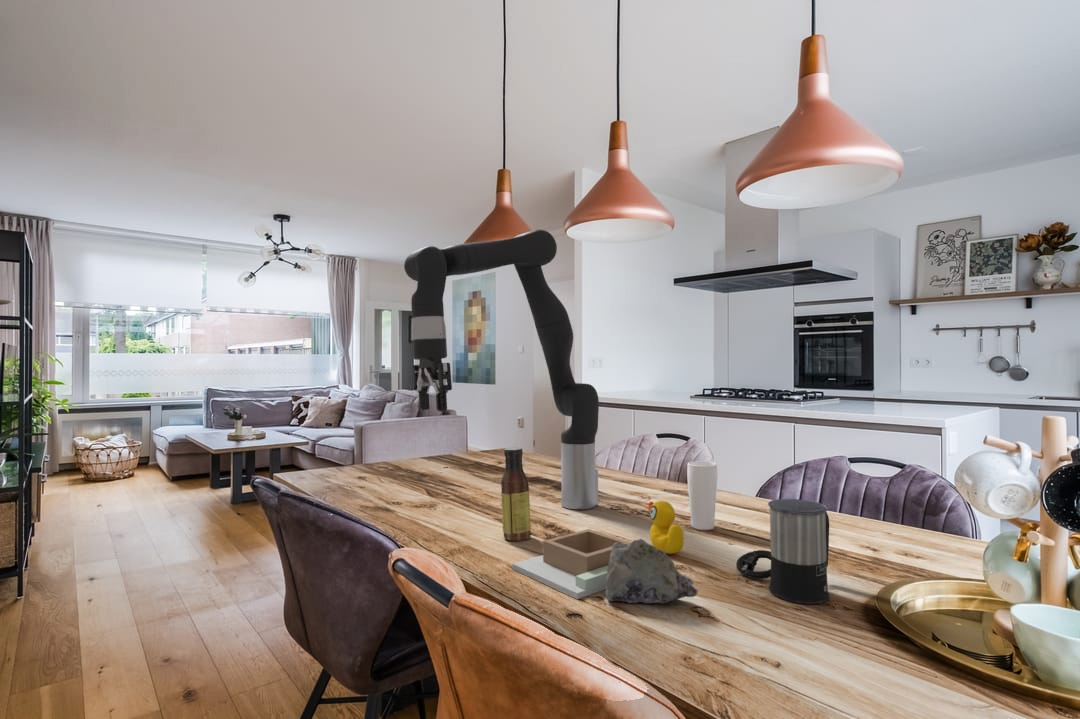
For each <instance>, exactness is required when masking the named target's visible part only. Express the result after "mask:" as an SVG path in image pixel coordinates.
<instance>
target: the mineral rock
mask: <svg viewBox="0 0 1080 719" xmlns="http://www.w3.org/2000/svg"><path fill="white" fill-rule="evenodd" d="M630 542H631V541H630ZM693 584H694V581H693V579H691V577H688V576H687V575H684V574H682V573H681V572H679V571H678V570H677V568H676V566H675V563H674V562H673V560H672V559H671V558H670V556H669V555H667V554H666V553H664V552H663V551H661V550H658V549H657V548H655V547H654V546H653V545H652V544H650V543H648V542H647V541H645V540H644V539H642V538H640V539H637V540H636V539H634V540H633V541H632V542H631V543H630V544H625V543H623V544H622V543H614V544H613V547H612V552H611V555H610V558H609V563H608V569H607V579H606V589H605V598H606V600H608V601H610V602H614V601H615V602H626V603H629V604H634V603H639V602H641V603H642V604H643V603H644V604H652V603H653V604H667V603H669V602H672V601H678V600H680V599H683V598H686V597H687V598H694V597H696V596H697V595H698V593H699V590H698V589H697V588H695V587H694V586H693Z"/></svg>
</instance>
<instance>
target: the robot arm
mask: <svg viewBox="0 0 1080 719" xmlns="http://www.w3.org/2000/svg"><path fill="white" fill-rule="evenodd" d="M557 250H558V247H557V242H556V240H555V237H554V236H553V235H552V234H551V233H550V232H548V231H546V230H545V229H532V230H530V231H527V232H524V233H520V234H518V235H516V236H515V237H510V238H505V239H498V240H487V241H486V240H485V241H473V242H466V243H458V244H454V245H450V246H447V247H443V248H438V247H436V246H433V245H427V246H424V247H422V248H419V249H417V250H414V251H412V252H411V253H409V254H408V255H407V257H405V258H406V259H405V261H404V263H403V264H404V266H403V268H404V271H405V273H406V276H407V277H409V278H410V279H411V280H413V281H415V282H417V284H416V285H417V286H416V290H415V291H414V293H413V294H412V295H411V300H410V301H411V302H410V303H411V317H412V319H411V344H412V358H413V360H417V361H419V364H413V365H412V389H413V391H416V393H417V394H418V406H419V410H420V411H426V410H429V409H430V407H431V406H430V392H429V391H430V388H431V386H432V387H433V389H434V392H435V402H436V403H435V404H436V411H437V412H446V411H447V410H448V400H447V398H448V397H447V394H448V393H449V391H452V389H453V386H452V385H453V383H452V372H451V363H450V362H443V360H442V359H446V358H447V357H448V348H447V346H448V345H447V330H446V328H447V327H446V322H445V313H444V312H445V311H444V309H445V308H444V299H443V298H444V294H445V290H446V289H445V288H446V284H447V277H450V276H451V277H452V276H462V275H468V274H474V273H480V272H485V271H488V270H489V271H490V270H492V269H493V270H494V269H496V268H501V267H505V266H509V265H514V268H515V270H516V274H518V275H517V276H518V277H519V281H520V284H521V285H522V287H523V290H524V293H525V295H526V301H527V302H528V306H529V309H530V311H531V315H532V318H533V322H534V326H535V330H536V332H537V337H538V339H539V342H540V345H541V349H542V353H543V355H544V360H545V362H546V363H545V364H546V365H547V366H546V368H547V369H548V376H549V380H550V386H551V390H552V397H553V399H554V404H555V407H556V409H557V410H558V412H559V413H560V414H561V415H563V416H565V417H571V423H570V426H569V427H568V428H566V429H565V430H563V431H562V432H561V434H560V439H561V440H560V442H561V443H560V456H561V457H560V459H561V462H560V463H561V464H560V466H561V467H560V468H561V469H560V470H561V479H560V481H561V483H560V484H561V485H560V486H561V506H562V507H563V508H566V509H570V510H589V509H592V508H595V507H596V506H599V470H598V469H597V468H596V435H597V433H598V428H599V410H600V409H599V404H600V403H599V400H600V399H599V396H598V392H597V389H596V388H595V386H593V385H592V384H589V383H584V382H583V383H581V382H580V383H579V382H576V381H575V379H574V376H573V371H572V369H571V363H570V362H571V356H572V350H573V343H574V331H573V328H572V325H571V320H570V317H569V314H568V311H567V309H566V308H565V306H564V304H563V303H562V301H561V300H560V298H559V297H558V296H557V295H556V294H555V293H554V291H553V290H552V288H550V286H549V284H548V283H547V281H546V277H545V276H544V275H545V274H544V272H543V268H542V267H543V266H546V265H547V264H549V263H551V262H552V261H553V259H554V258H555V256H556V255H557Z"/></svg>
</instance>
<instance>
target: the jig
mask: <svg viewBox="0 0 1080 719" xmlns="http://www.w3.org/2000/svg"><path fill="white" fill-rule="evenodd" d="M614 543H622V544H623V543H625V544H630V543H631V541H628V540H625V539H621V538H619V537H615V536H612V535H609V534H605V533H603V532H599V531H595V530H592V529H590V528H586V529H584V530H580V531H576V532H572V533H568V534H565V535H560V536H557V537H552V538H549V539H545V540H542V548H543V550H542V555H538V556H535V557H531V558H528V559H524V560H521V561H517V562H514V563H511V564H512V565H511V566H512V567H511V568H512V570H514V571H516V572H517V573H519V574H522V575H524V576H527V577H528V578H531V579H533V580H535V581H537V582H539V583H541V584H544V585H546V586H547V587H550V588H552V589H554V590H556V591H559V592H561V593H562V594H565V595H567V596H570V597H571V598H574V599H576V600H579V599H583V598H584V597H587V596H591V595H594V594H597V593H599V592H601V591H606V579H607V569H608V563H609V558H610V555H611V552H612V547H613V544H614Z"/></svg>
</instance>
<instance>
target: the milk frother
mask: <svg viewBox="0 0 1080 719" xmlns="http://www.w3.org/2000/svg"><path fill="white" fill-rule="evenodd" d="M767 506H769V522H770V523H769V526H770V527H769V532H770V538H769V539H770V551H769V550H765V549H763V550H762V549H760V550H754V551H749V552H746V553H744V554H743V555H741V556H740V557H738V559H737V561H736V569H737V571H738V572H739V573H741V574H742V575H744V576H746V577H749V578H752V579H758V580H761V579H769V578H770V583H769V586H768V589H769V592H770V594H772V595H774V596H775V597H777V598H779V599H781V600H784V601H788V602H791V603H794V602H795V604H801V603H802V604H803V605H817V604H822V603H826V602H827V601H828V600H830V593H829V586H828V570H827V569H828V566H829V553H830V552H829V549H830V548H829V547H830V545H829V544H830V543H829V542H830V517H829V515H828V512H827V511H828V510H829V508H828V507H827V505H825V504H824V503H823V504H822V503H820V502H818V501H811V500H805V499H797V498H796V499H795V498H778V499H772V500H770V501H769V502H767ZM759 559H768V560H770V569H768V570H763V571H762V570H761V571H755V567H756V566H757V562H758V561H759Z"/></svg>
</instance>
